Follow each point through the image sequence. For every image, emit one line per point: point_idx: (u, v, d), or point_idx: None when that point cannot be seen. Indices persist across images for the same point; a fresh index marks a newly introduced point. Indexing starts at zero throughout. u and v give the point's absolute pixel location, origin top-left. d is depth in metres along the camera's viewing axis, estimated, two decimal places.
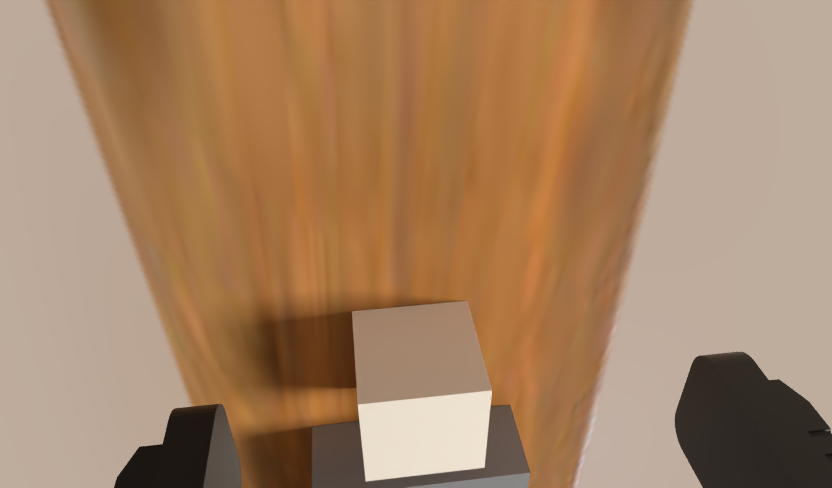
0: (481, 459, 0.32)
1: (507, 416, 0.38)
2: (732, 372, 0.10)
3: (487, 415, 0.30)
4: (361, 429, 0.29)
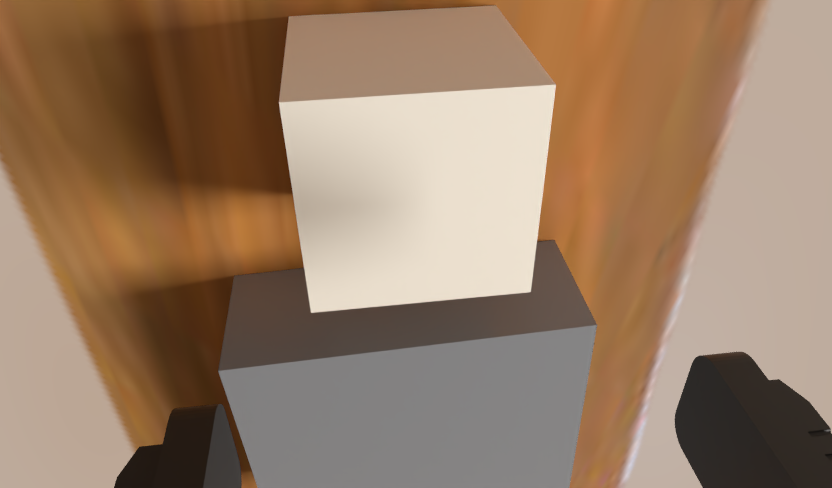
0: (526, 271, 0.17)
1: (551, 254, 0.24)
2: (732, 372, 0.10)
3: (543, 156, 0.15)
4: (292, 175, 0.15)
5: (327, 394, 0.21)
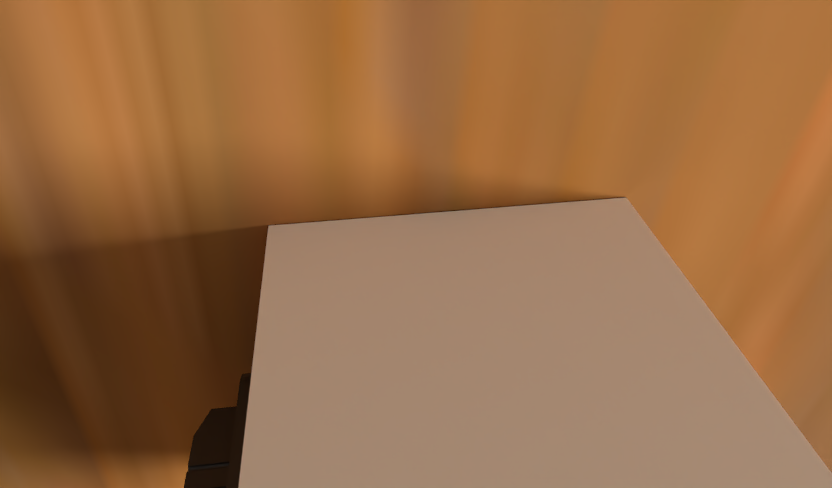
0: None
1: None
2: None
3: None
4: None
5: None
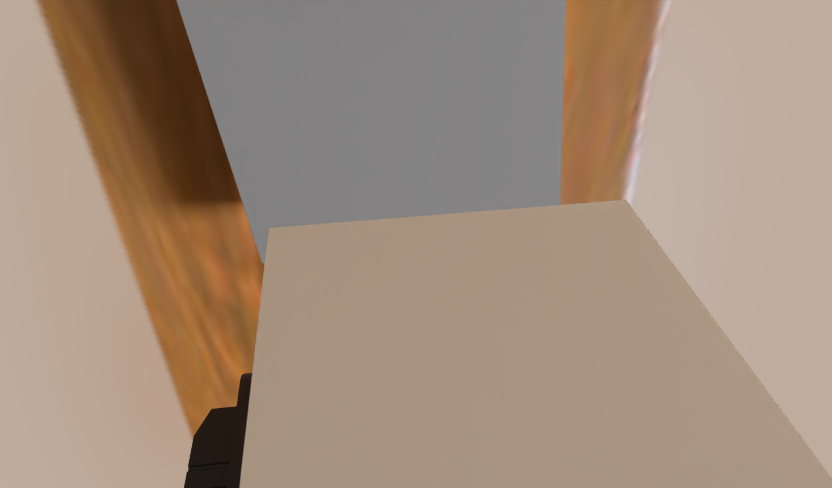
0: None
1: None
2: None
3: None
4: None
5: None
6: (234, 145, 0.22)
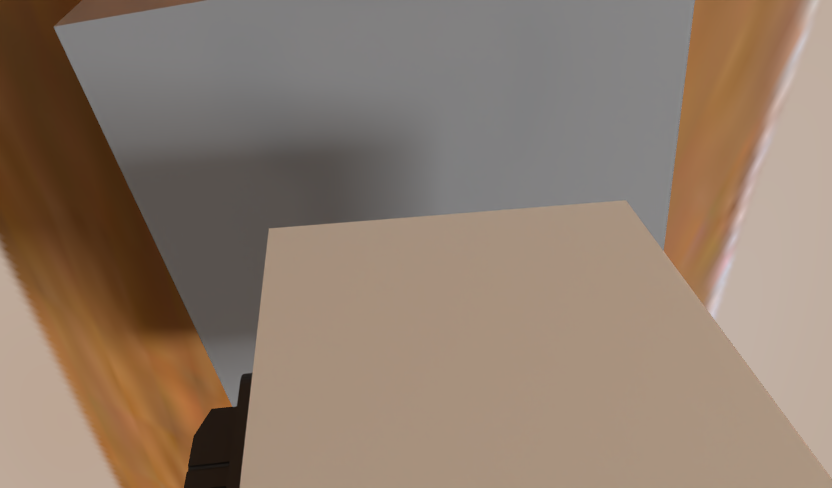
0: None
1: None
2: None
3: None
4: None
5: (254, 85, 0.13)
6: (199, 303, 0.16)
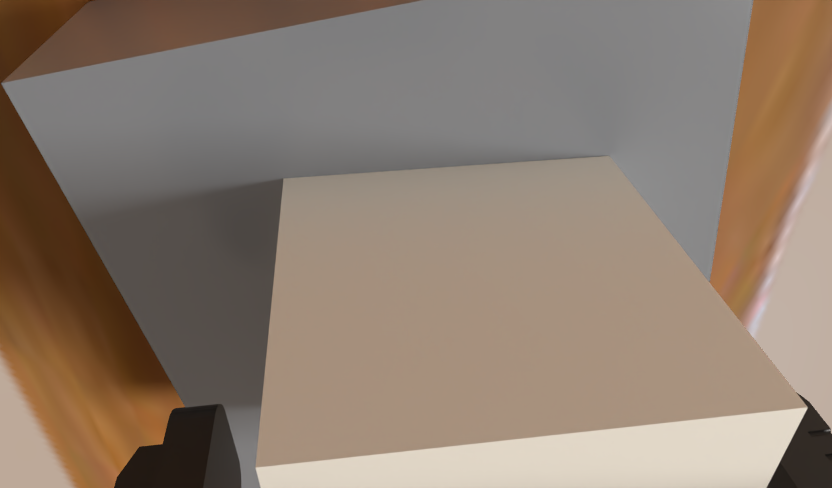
0: None
1: None
2: None
3: None
4: None
5: (237, 140, 0.11)
6: (186, 376, 0.14)
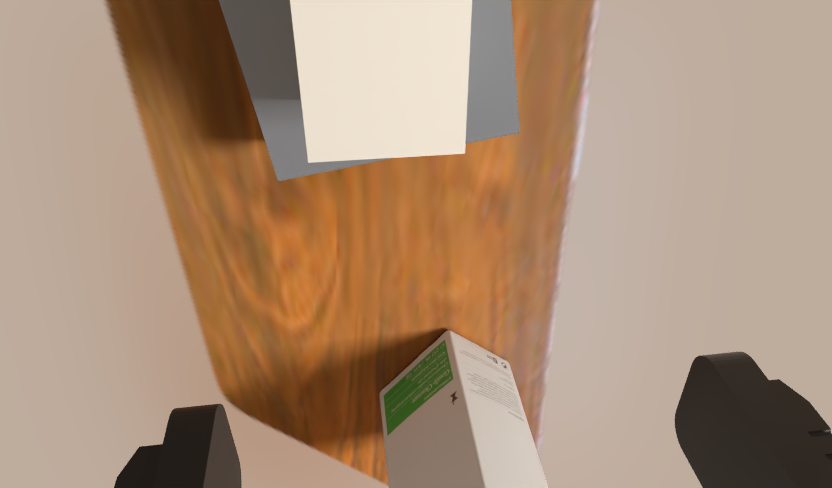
0: (460, 136, 0.24)
1: None
2: (732, 372, 0.10)
3: (467, 44, 0.22)
4: (297, 52, 0.22)
5: None
6: (253, 78, 0.28)
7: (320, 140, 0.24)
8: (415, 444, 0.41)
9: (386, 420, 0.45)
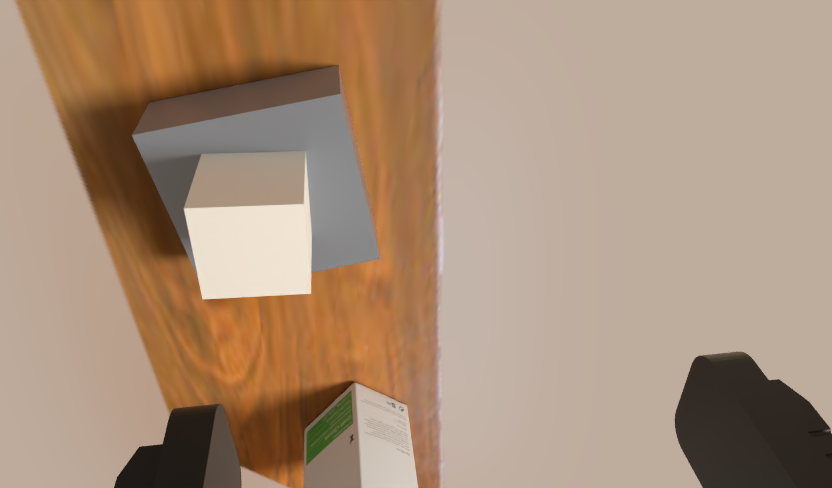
0: (306, 283, 0.36)
1: (333, 70, 0.39)
2: (732, 372, 0.10)
3: (304, 232, 0.34)
4: (190, 237, 0.33)
5: (197, 150, 0.37)
6: (182, 231, 0.40)
7: (210, 286, 0.35)
8: (323, 474, 0.53)
9: (306, 453, 0.57)
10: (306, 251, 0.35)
